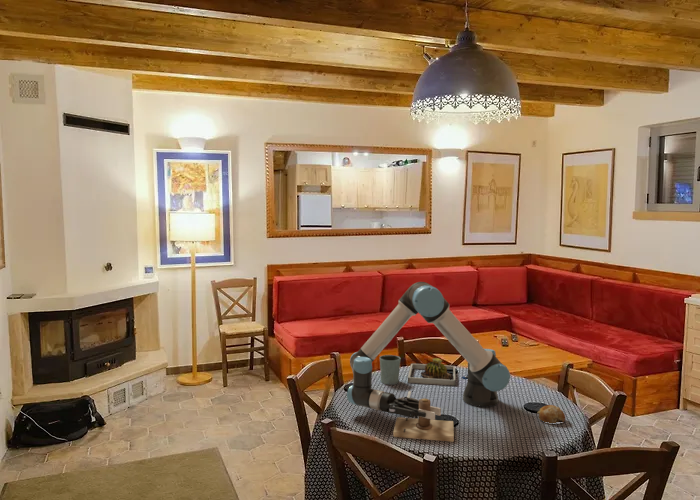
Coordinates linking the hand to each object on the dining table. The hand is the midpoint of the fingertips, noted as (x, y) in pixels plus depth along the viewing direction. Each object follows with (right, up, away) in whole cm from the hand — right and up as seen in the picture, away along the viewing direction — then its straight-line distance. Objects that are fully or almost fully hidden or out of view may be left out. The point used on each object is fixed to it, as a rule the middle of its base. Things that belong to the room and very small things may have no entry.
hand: (437, 414), depth 205 cm
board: (-4, -8, +4) cm, 10 cm away
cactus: (+11, -3, +70) cm, 71 cm away
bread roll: (+48, -7, +16) cm, 51 cm away
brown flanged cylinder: (-4, -6, +3) cm, 8 cm away
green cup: (-13, -3, +62) cm, 63 cm away
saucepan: (-8, -6, +29) cm, 31 cm away
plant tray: (+9, -2, +70) cm, 70 cm away
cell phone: (+30, -3, +66) cm, 73 cm away
